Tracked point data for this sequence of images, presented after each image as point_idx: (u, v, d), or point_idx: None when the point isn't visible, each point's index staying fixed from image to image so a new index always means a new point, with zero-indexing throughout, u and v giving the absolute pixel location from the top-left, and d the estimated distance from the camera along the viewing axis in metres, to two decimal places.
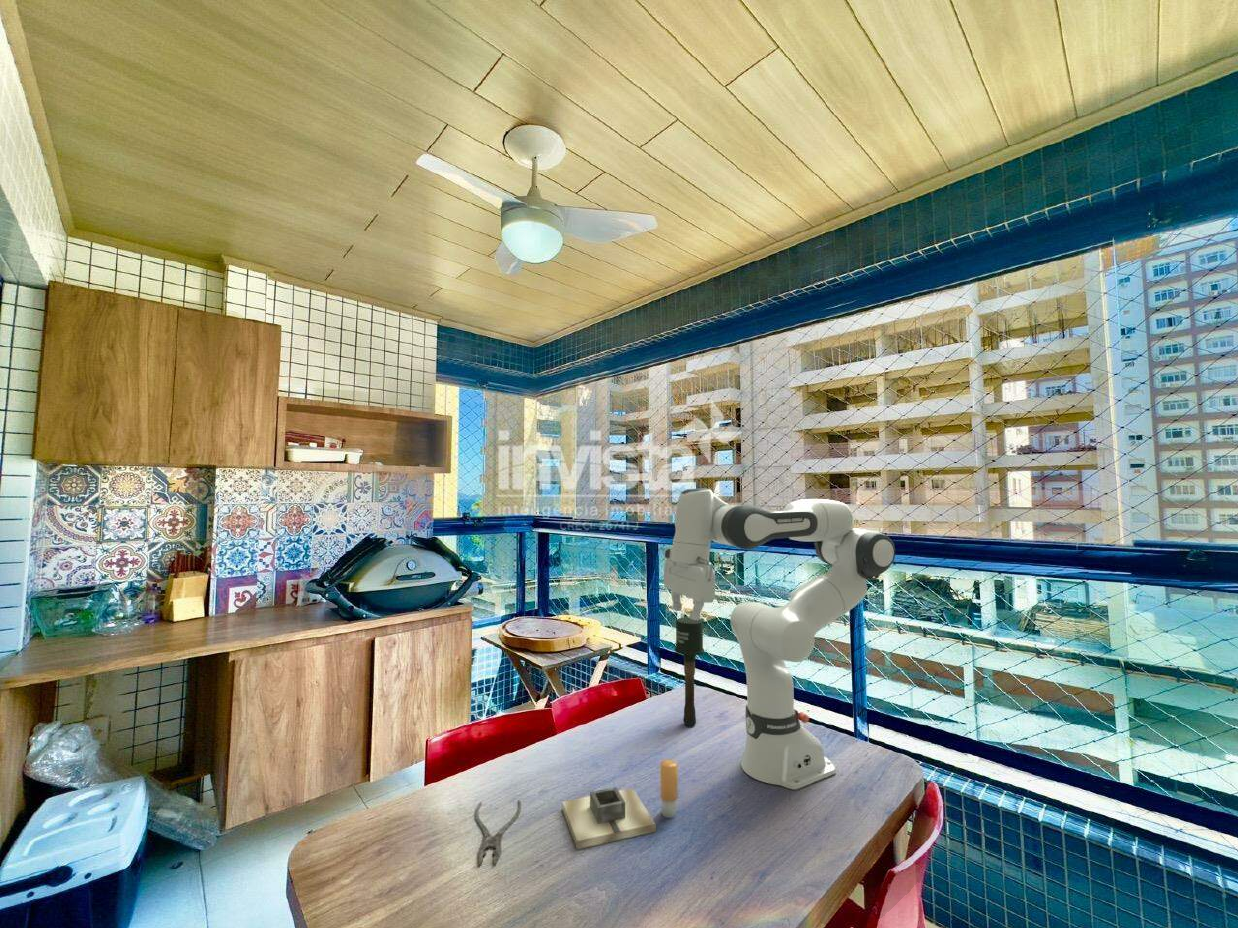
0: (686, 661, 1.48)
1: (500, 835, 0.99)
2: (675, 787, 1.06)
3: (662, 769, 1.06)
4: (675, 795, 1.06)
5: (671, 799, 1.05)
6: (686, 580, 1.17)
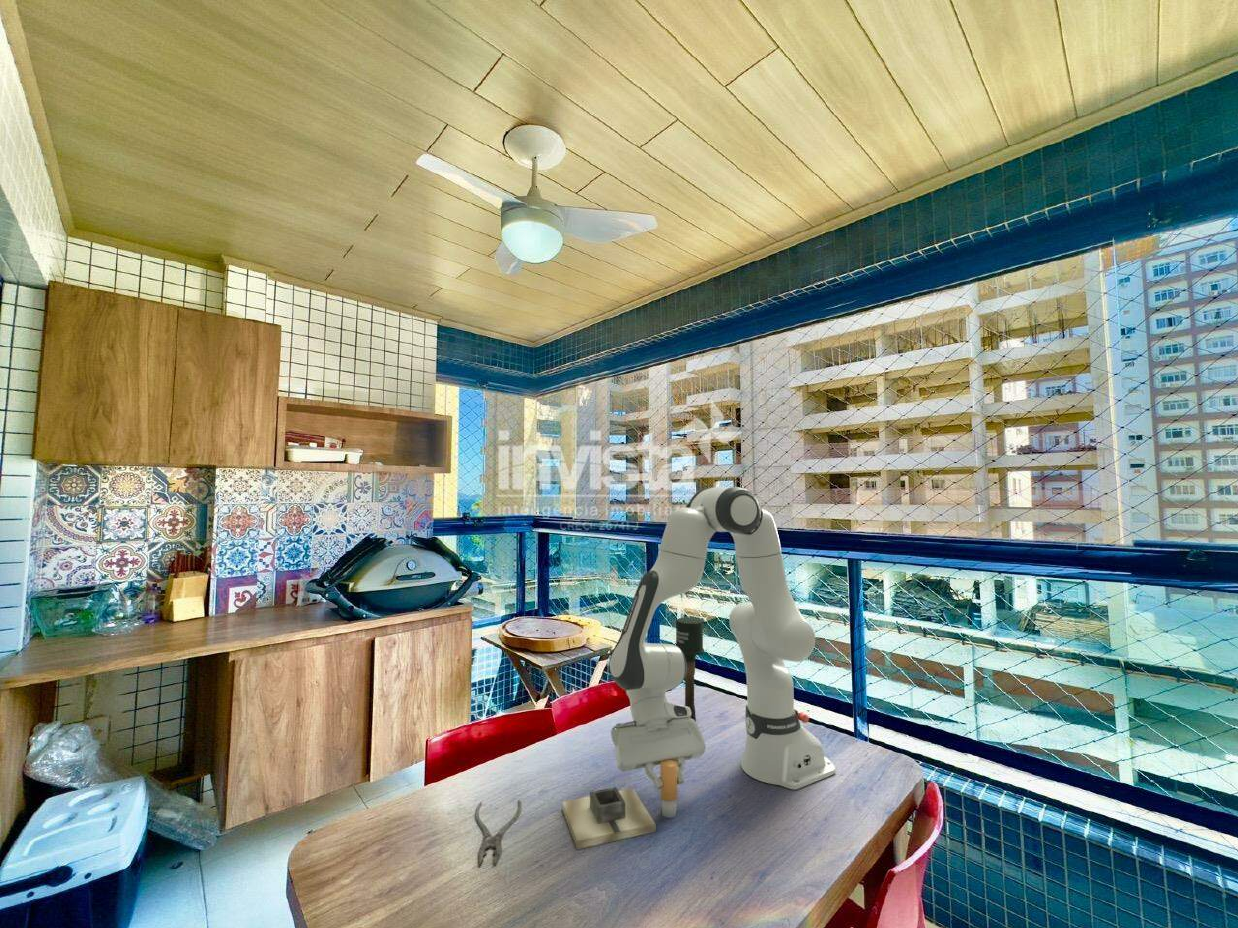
0: (686, 661, 1.48)
1: (500, 835, 0.99)
2: (675, 787, 1.06)
3: (662, 769, 1.06)
4: (675, 795, 1.06)
5: (671, 799, 1.05)
6: None
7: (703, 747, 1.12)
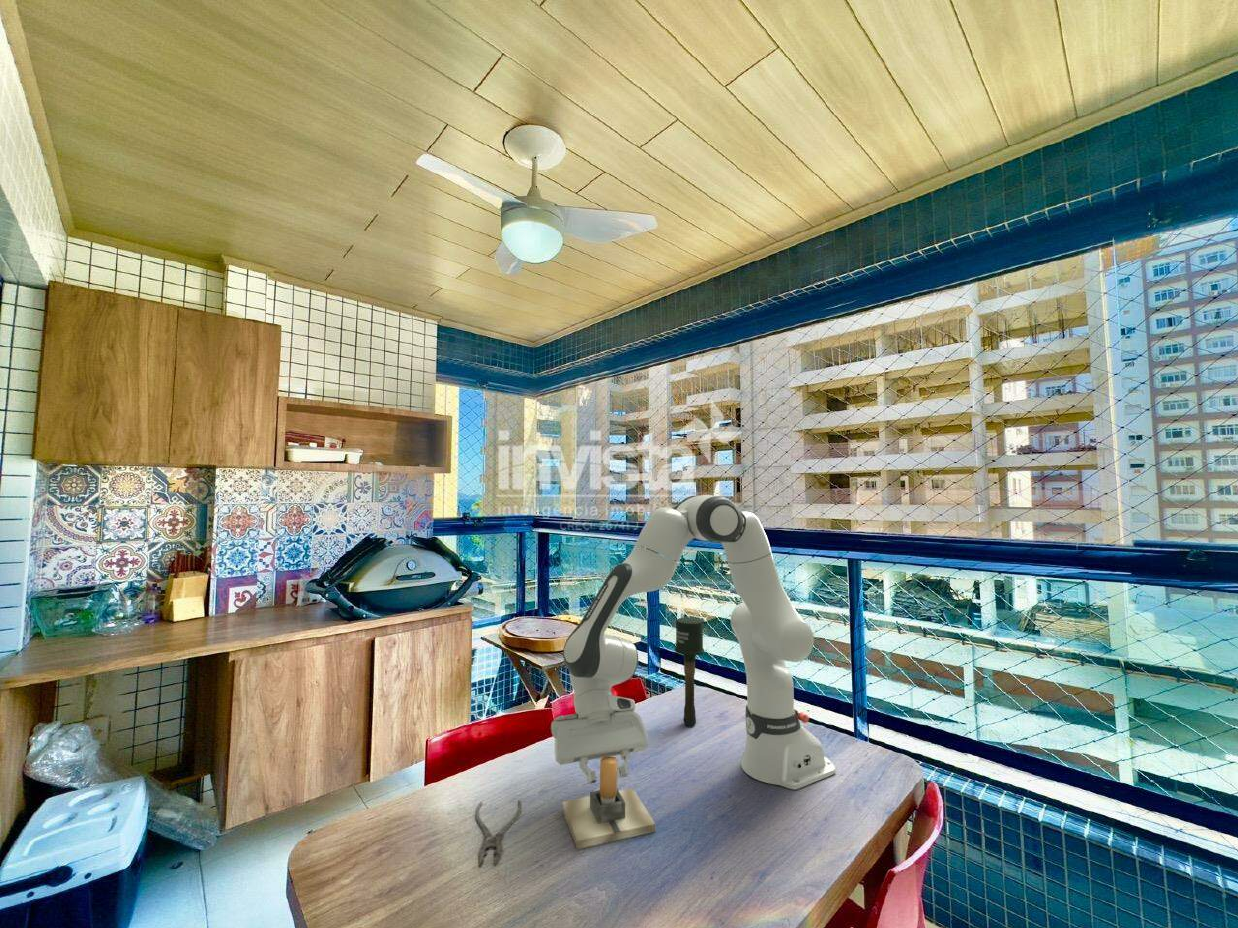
0: (686, 661, 1.48)
1: (501, 835, 0.99)
2: (614, 784, 1.04)
3: (601, 765, 1.04)
4: (614, 792, 1.03)
5: (609, 796, 1.03)
6: None
7: (645, 740, 1.10)
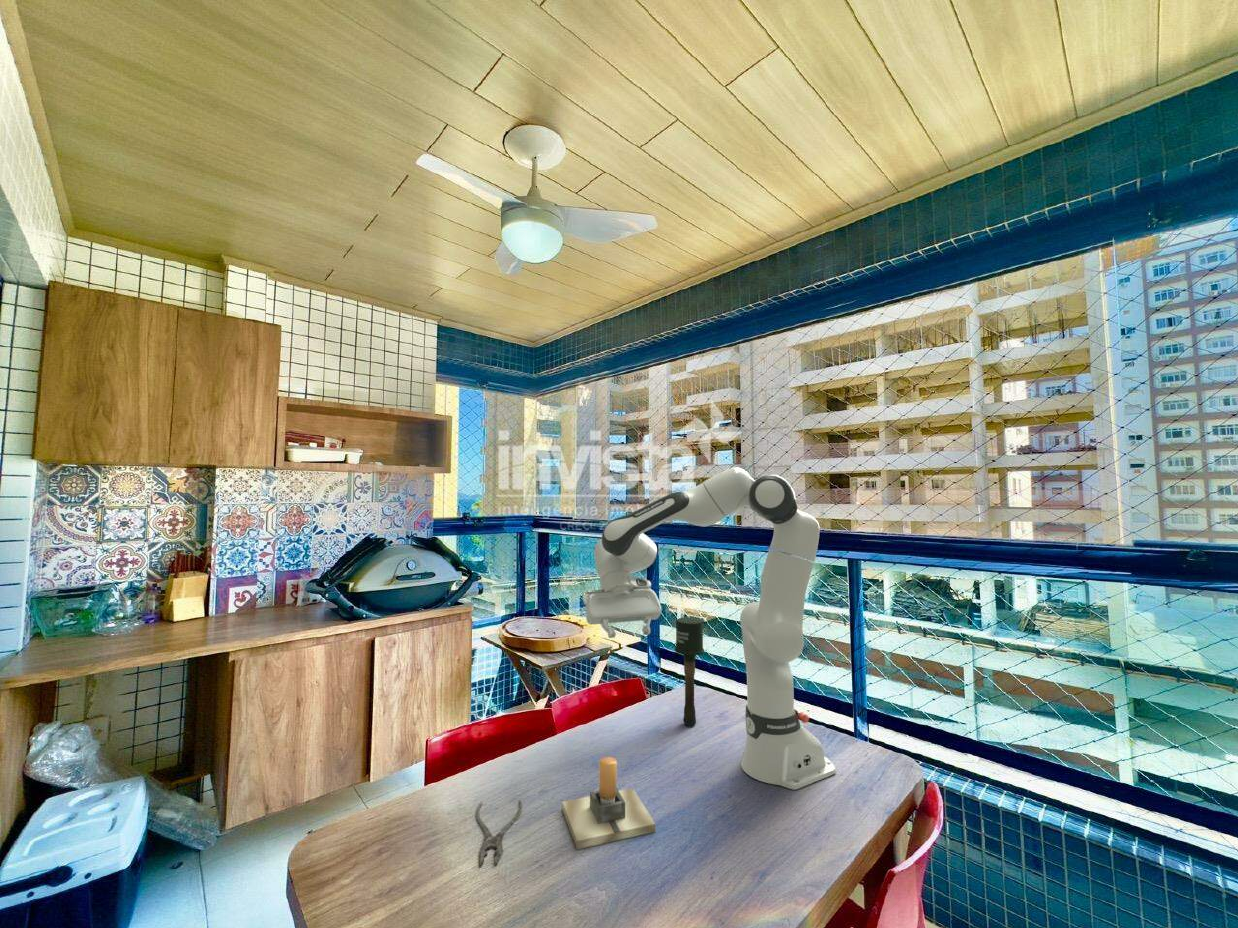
0: (686, 661, 1.48)
1: (501, 835, 0.99)
2: (613, 785, 1.03)
3: (600, 766, 1.04)
4: (613, 793, 1.03)
5: (609, 797, 1.03)
6: None
7: (659, 609, 1.34)
